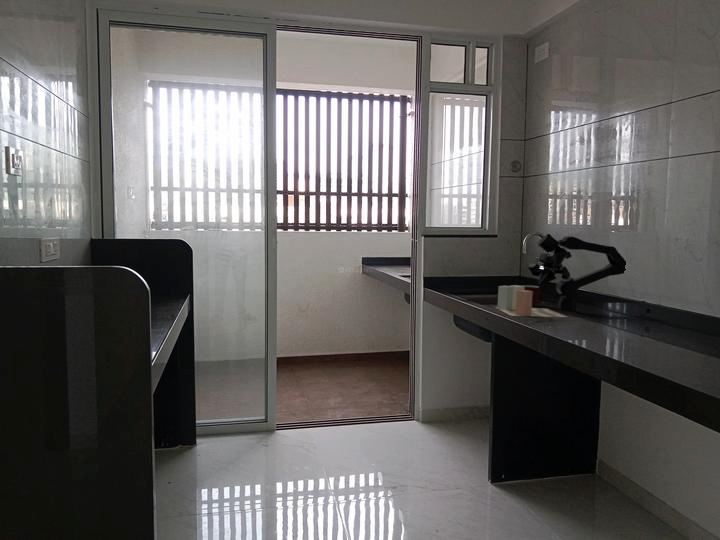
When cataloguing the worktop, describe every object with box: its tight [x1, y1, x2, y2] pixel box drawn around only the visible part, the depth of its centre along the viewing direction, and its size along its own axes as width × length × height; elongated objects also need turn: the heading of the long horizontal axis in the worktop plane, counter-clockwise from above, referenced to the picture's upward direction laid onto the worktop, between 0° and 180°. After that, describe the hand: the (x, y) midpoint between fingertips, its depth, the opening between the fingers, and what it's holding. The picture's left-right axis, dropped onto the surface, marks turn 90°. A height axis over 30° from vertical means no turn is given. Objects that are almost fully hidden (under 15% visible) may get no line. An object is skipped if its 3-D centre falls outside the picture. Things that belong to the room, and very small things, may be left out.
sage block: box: [496, 285, 514, 310], centre depth 247 cm, size 4×4×10 cm
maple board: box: [494, 306, 568, 318], centre depth 242 cm, size 24×23×1 cm
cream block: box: [510, 284, 525, 309], centre depth 250 cm, size 4×4×10 cm
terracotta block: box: [515, 290, 533, 317], centre depth 232 cm, size 4×4×10 cm
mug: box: [522, 284, 545, 307], centre depth 261 cm, size 10×8×10 cm
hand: (539, 285), depth 244 cm, fingers closed
